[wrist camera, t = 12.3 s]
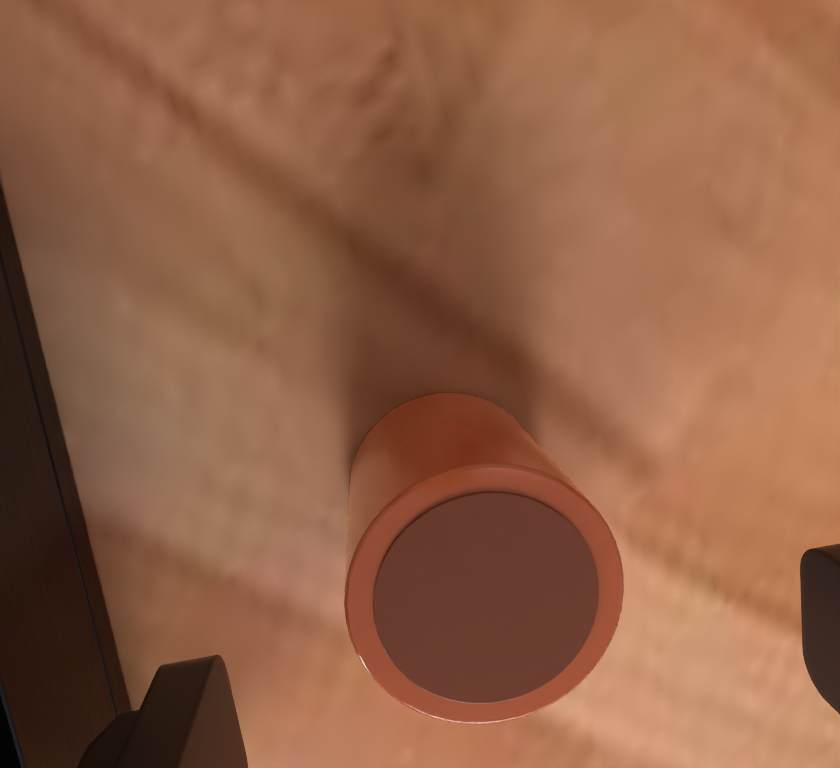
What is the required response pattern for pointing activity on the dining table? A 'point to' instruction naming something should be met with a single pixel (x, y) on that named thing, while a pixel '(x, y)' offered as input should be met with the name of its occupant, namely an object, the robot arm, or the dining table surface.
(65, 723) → the black open box
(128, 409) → the dining table surface
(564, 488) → the terracotta cup
